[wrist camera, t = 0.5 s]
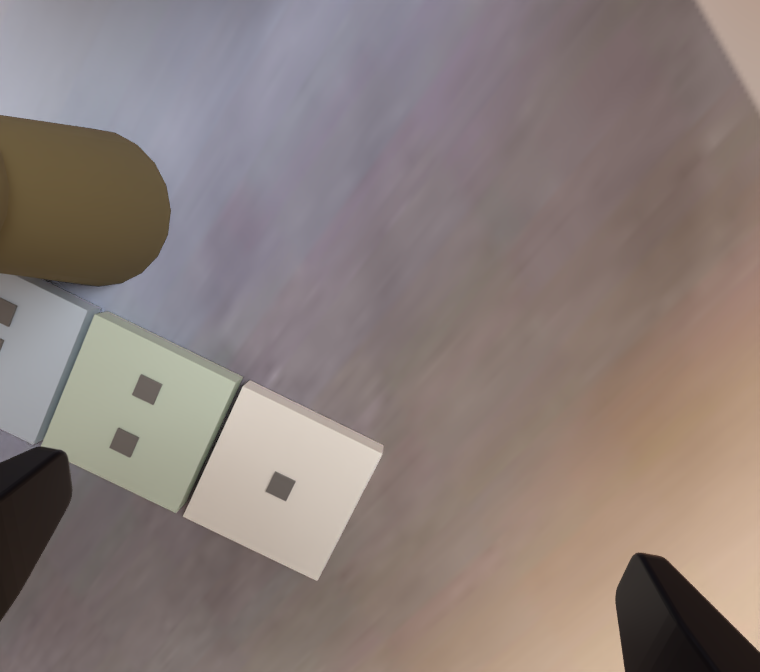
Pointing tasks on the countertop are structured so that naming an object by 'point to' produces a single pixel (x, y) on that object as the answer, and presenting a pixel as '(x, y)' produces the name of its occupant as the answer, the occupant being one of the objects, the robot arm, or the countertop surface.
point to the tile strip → (177, 426)
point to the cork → (77, 204)
